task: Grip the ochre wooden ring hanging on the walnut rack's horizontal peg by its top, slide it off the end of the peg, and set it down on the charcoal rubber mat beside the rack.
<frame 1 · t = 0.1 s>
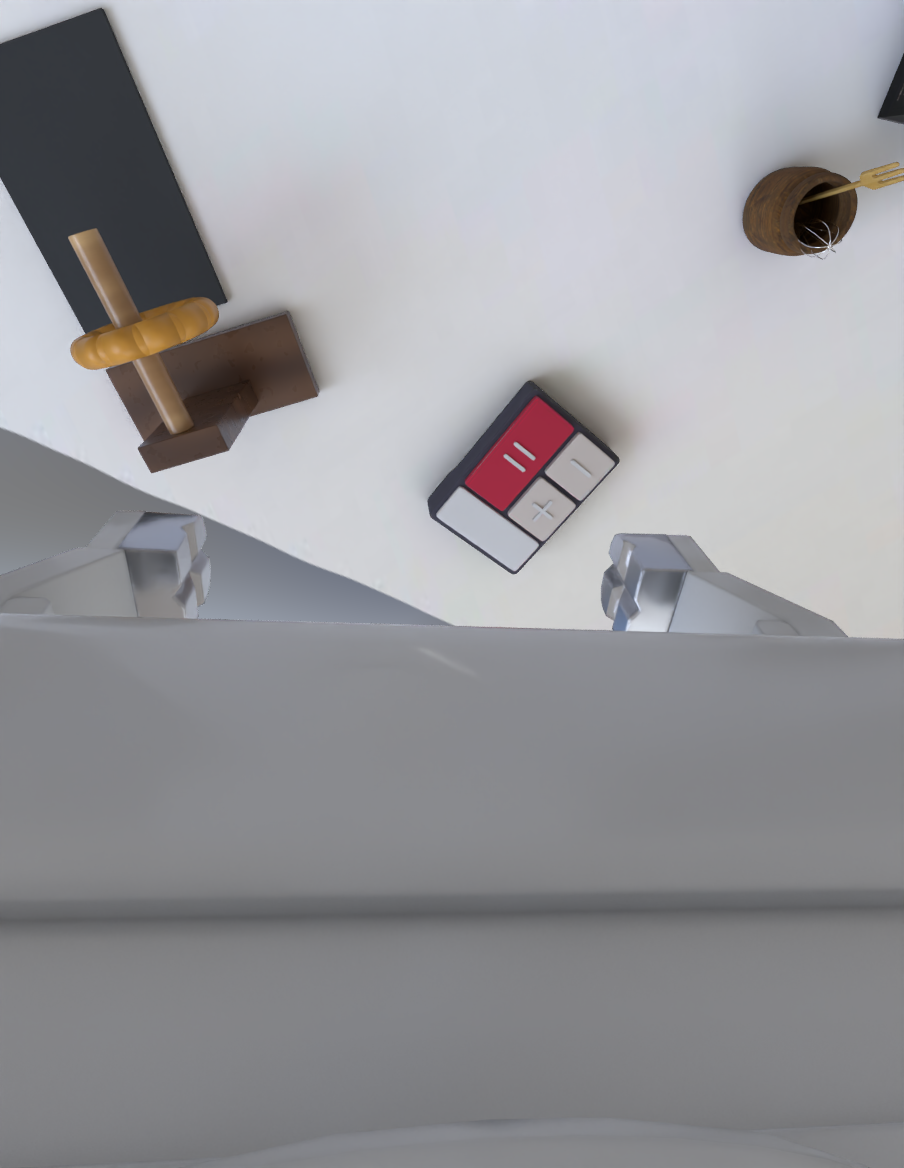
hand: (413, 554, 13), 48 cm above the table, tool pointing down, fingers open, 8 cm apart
utensil holder: (776, 208, 54), on the table
mat: (97, 194, 50), on the table
rack: (225, 395, 58), on the table
ring: (146, 332, 46), point 10 cm above the table, touching rack
calculator: (517, 474, 64), on the table
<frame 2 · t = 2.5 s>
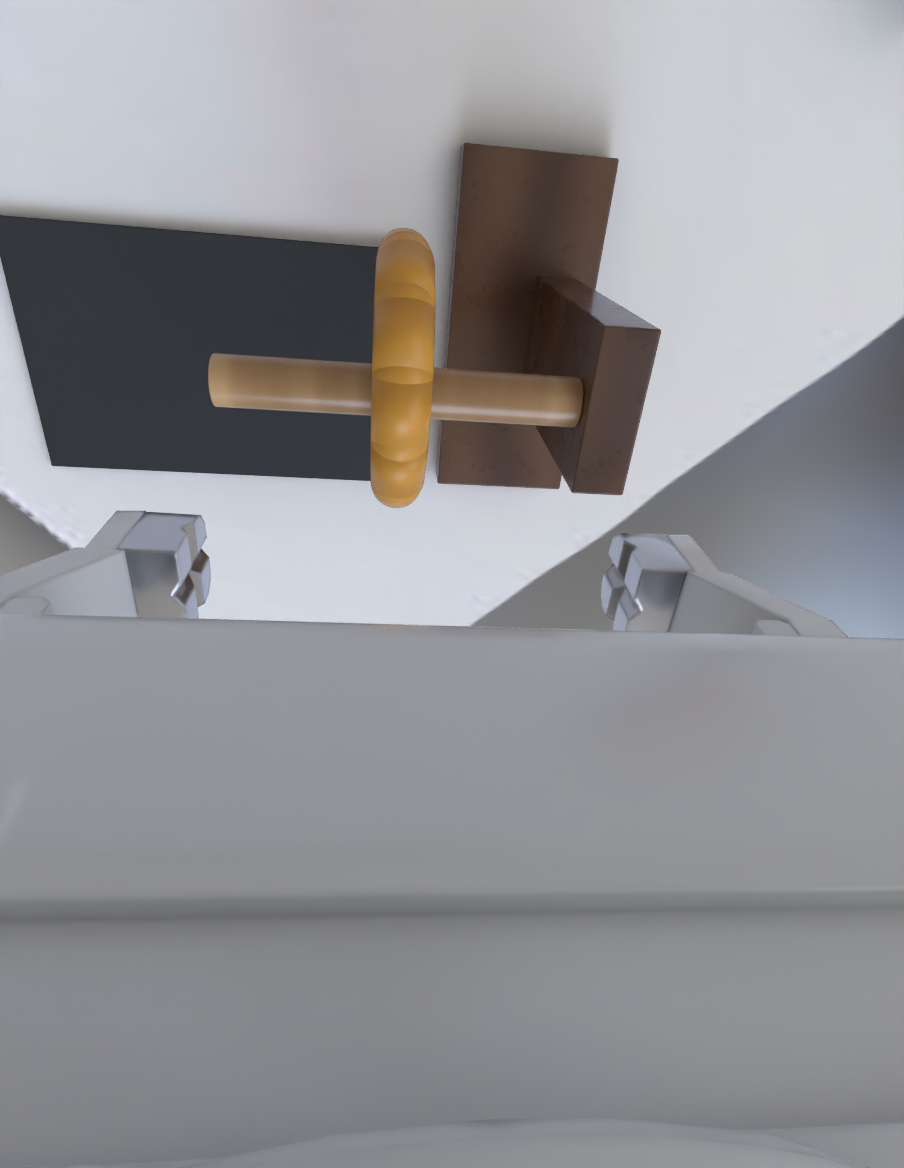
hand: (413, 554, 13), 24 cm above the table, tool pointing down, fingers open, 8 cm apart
mat: (222, 363, 34), on the table
rack: (541, 335, 35), on the table
ring: (400, 376, 26), point 10 cm above the table, touching rack
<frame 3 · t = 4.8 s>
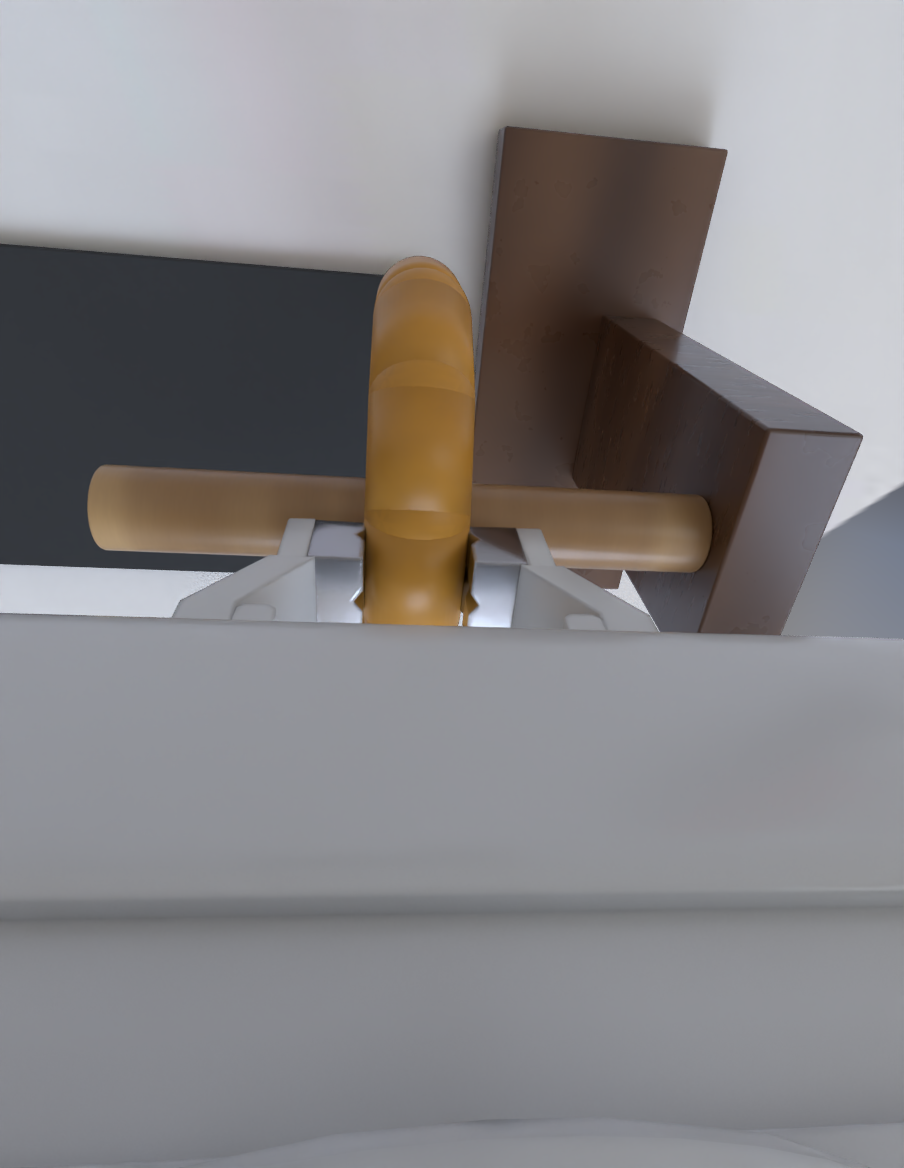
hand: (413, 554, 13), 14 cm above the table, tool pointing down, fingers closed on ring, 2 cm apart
mat: (167, 429, 25), on the table
rack: (601, 392, 26), on the table
ring: (411, 483, 16), point 10 cm above the table, touching gripper, rack
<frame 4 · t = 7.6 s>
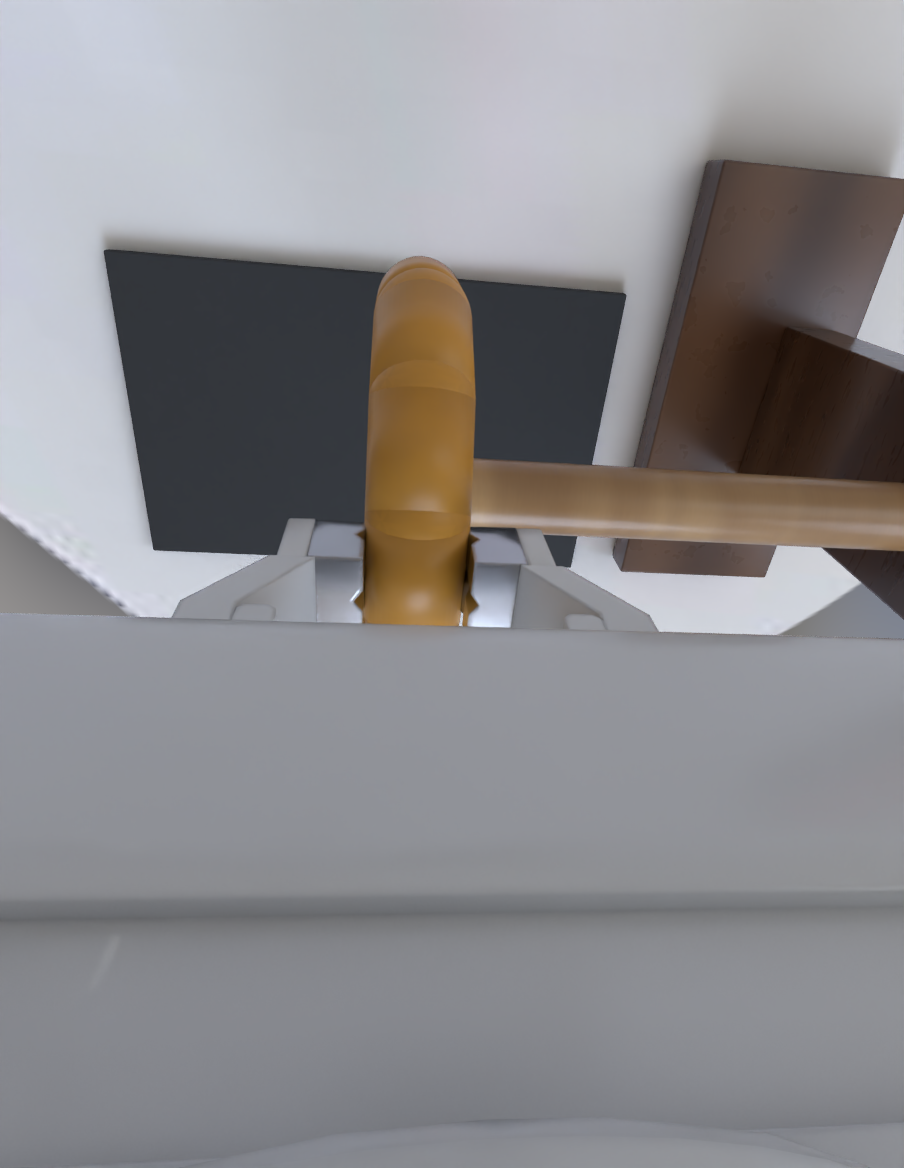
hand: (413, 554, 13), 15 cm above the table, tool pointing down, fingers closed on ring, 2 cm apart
mat: (372, 429, 28), on the table
rack: (766, 396, 28), on the table
ring: (412, 484, 16), point 12 cm above the table, touching gripper
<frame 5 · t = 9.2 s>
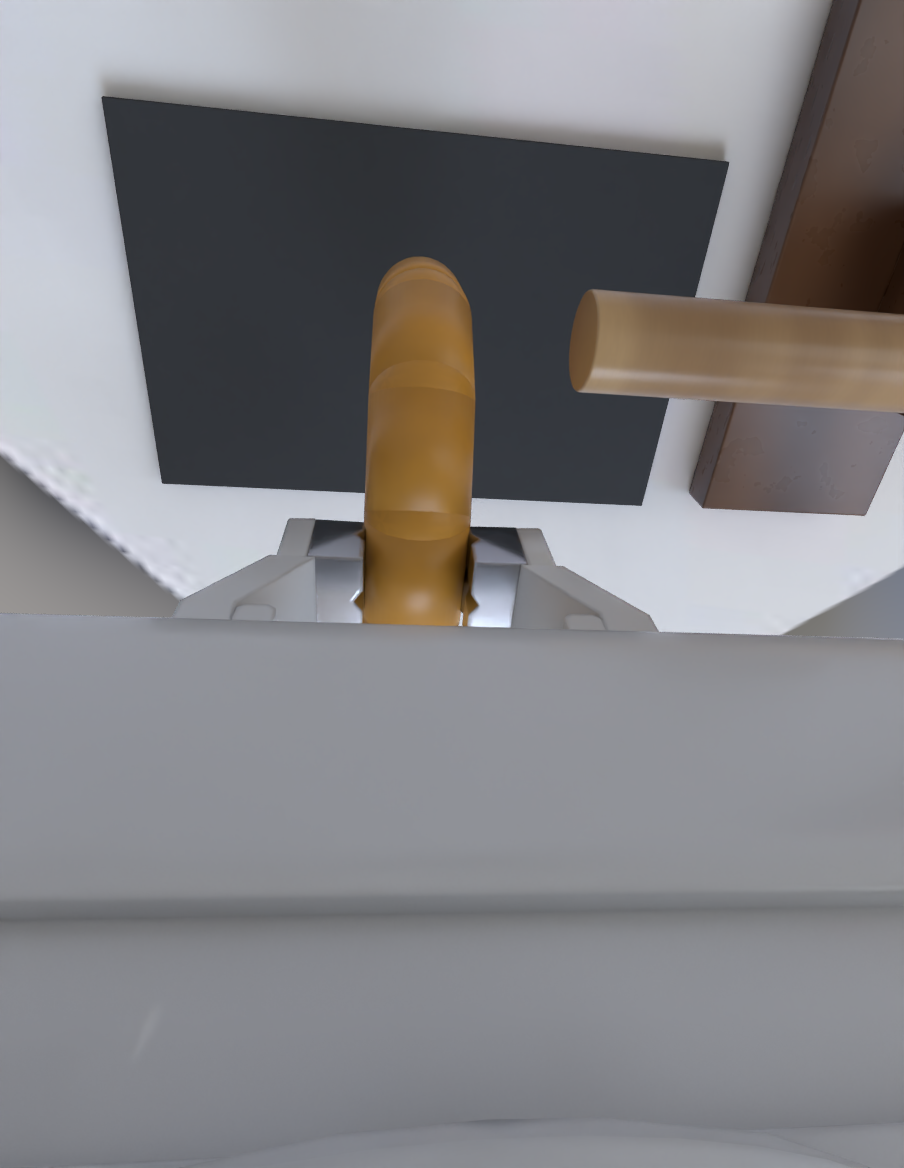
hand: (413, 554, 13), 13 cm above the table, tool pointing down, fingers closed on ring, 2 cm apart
mat: (419, 335, 24), on the table
rack: (880, 295, 24), on the table
ring: (411, 484, 16), point 9 cm above the table, touching gripper
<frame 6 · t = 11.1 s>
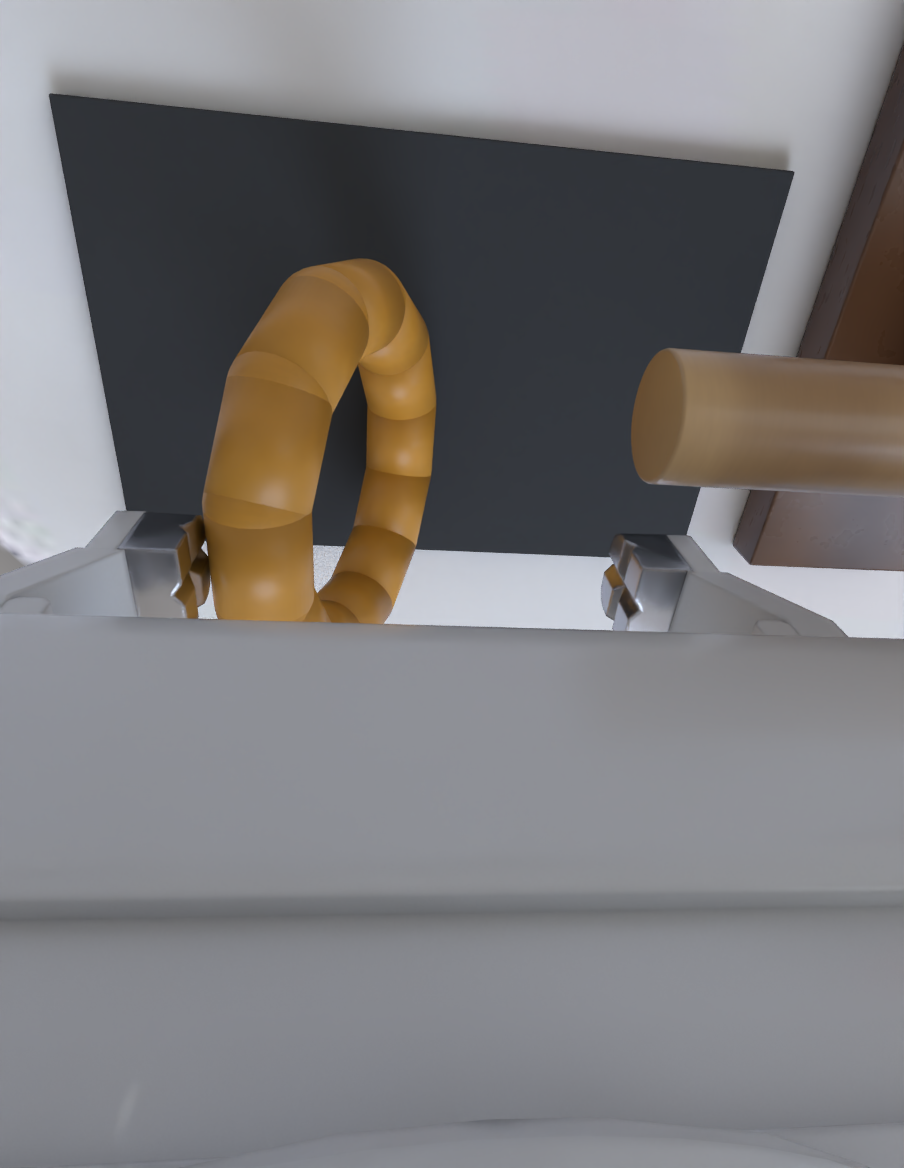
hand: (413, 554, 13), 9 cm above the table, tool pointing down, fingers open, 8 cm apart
mat: (427, 371, 20), on the table
ring: (345, 483, 17), point 5 cm above the table, tilted 20°, touching gripper, mat
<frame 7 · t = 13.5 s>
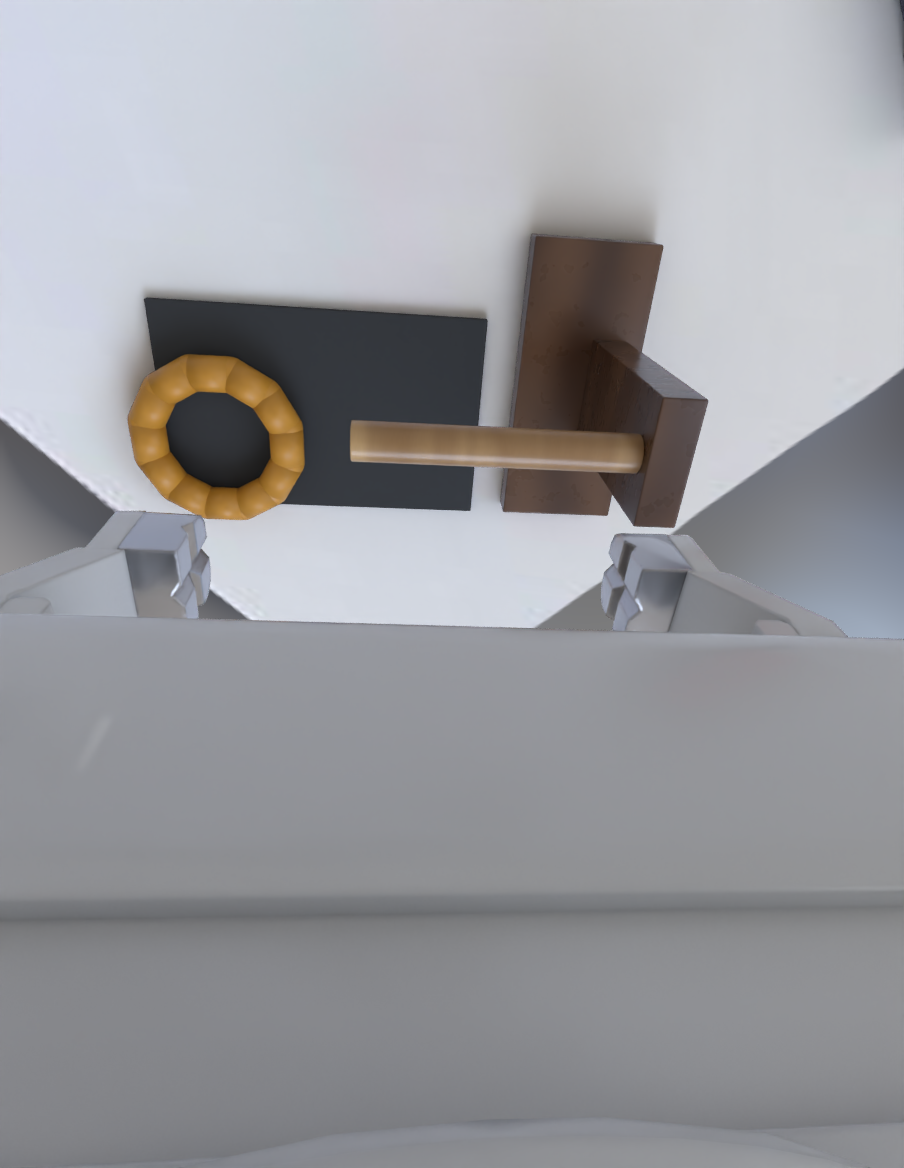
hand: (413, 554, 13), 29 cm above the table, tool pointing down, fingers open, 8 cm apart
mat: (323, 413, 41), on the table
rack: (594, 386, 41), on the table
ring: (218, 442, 40), point 1 cm above the table, tilted 90°, touching mat
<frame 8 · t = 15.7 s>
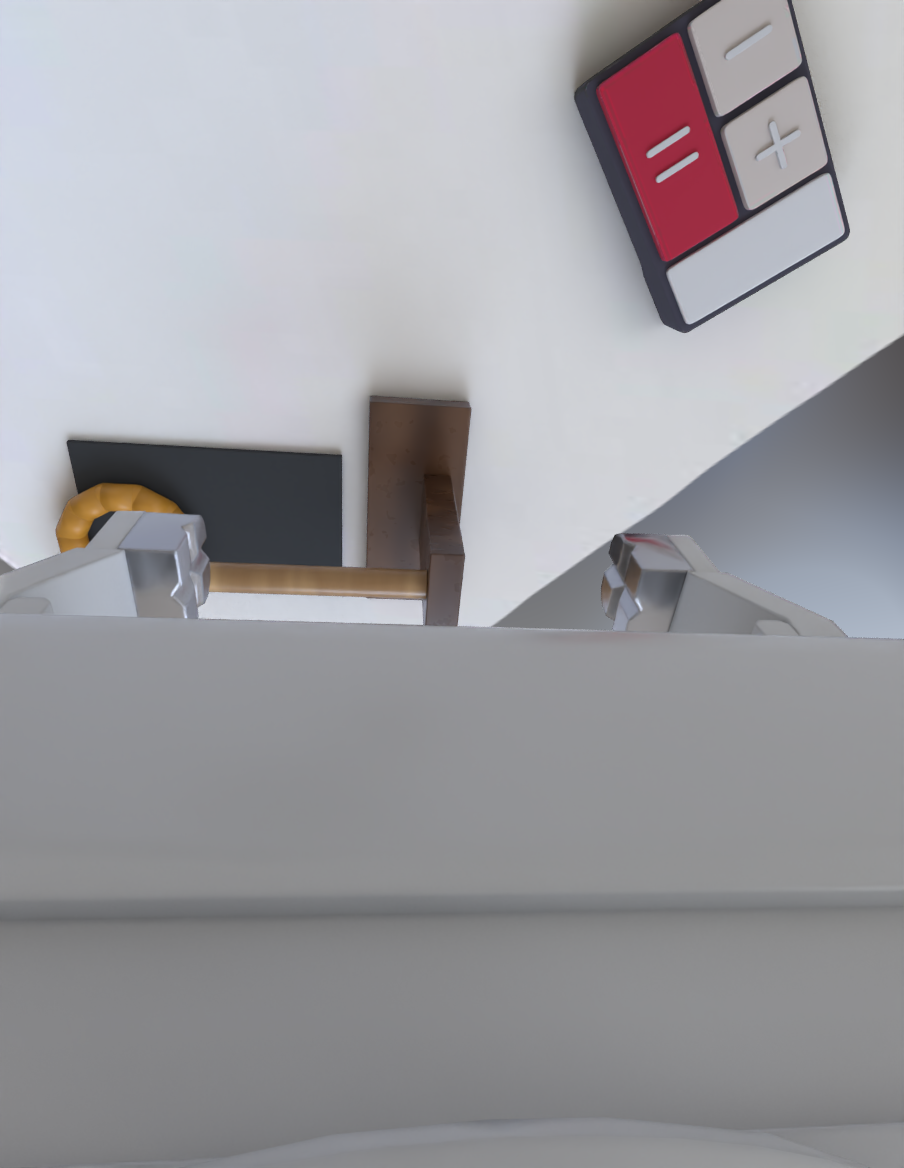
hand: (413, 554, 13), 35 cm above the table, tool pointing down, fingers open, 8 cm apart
mat: (216, 522, 51), on the table
rack: (433, 503, 51), on the table
ring: (130, 546, 50), point 1 cm above the table, tilted 90°, touching mat
calculator: (701, 166, 41), on the table
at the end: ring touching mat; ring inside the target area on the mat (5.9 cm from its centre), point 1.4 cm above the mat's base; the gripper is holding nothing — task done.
